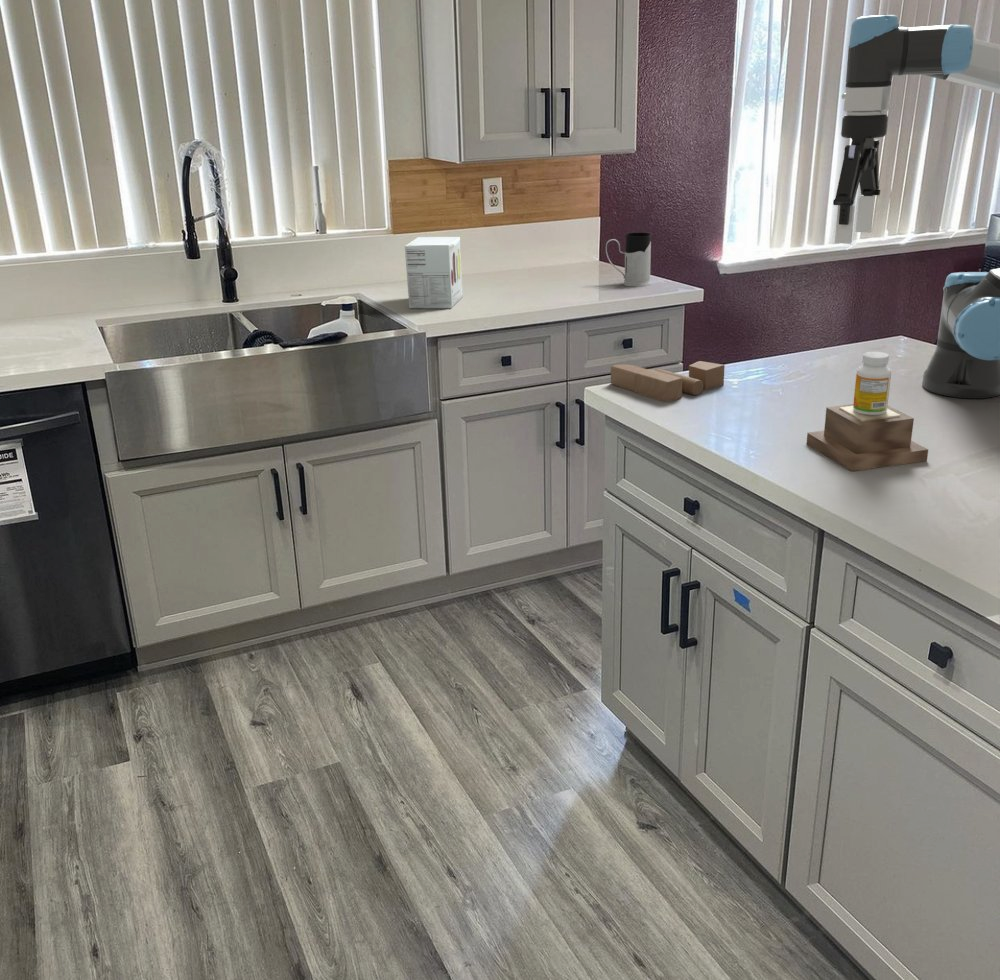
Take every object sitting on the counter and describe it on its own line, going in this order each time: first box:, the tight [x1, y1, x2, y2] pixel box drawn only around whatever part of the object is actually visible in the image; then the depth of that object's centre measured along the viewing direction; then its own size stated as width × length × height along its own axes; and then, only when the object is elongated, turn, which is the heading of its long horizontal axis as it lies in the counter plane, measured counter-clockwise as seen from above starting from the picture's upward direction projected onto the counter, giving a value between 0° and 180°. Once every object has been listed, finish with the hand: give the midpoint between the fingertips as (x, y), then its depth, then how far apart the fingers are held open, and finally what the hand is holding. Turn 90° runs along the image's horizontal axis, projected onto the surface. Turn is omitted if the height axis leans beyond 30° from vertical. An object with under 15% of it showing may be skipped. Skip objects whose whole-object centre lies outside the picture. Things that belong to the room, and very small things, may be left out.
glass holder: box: [605, 232, 652, 288], centre depth 306 cm, size 9×14×15 cm, turn 84°
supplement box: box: [404, 236, 464, 309], centre depth 291 cm, size 17×13×18 cm
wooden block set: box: [610, 360, 726, 403], centre depth 208 cm, size 17×6×18 cm
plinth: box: [806, 403, 929, 472], centre depth 168 cm, size 14×14×7 cm
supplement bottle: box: [852, 351, 892, 415], centre depth 165 cm, size 5×5×10 cm
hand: (853, 237), depth 182 cm, fingers open, 13 cm apart
